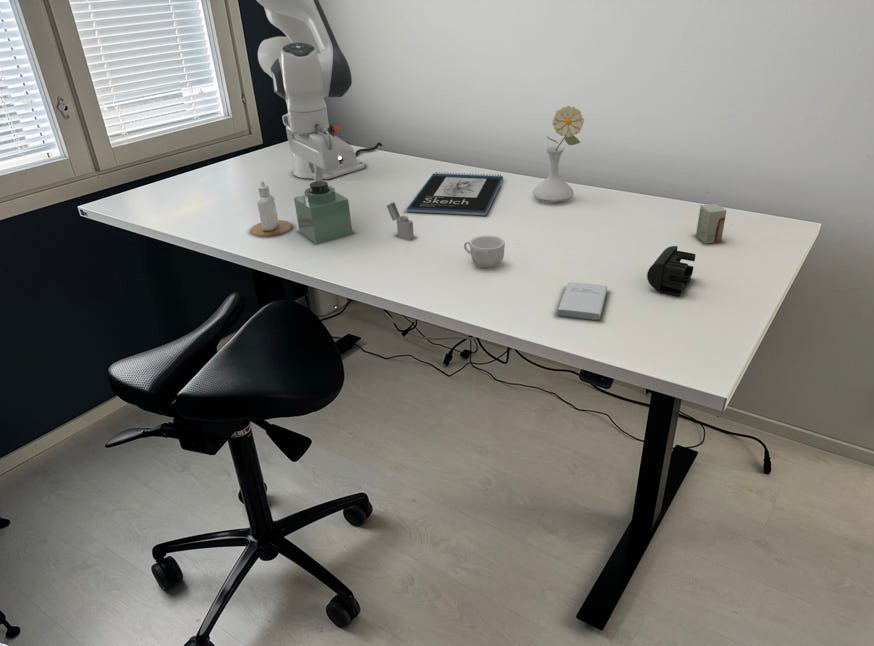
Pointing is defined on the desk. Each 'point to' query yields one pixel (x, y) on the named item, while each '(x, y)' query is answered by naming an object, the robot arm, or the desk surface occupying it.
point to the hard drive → (582, 301)
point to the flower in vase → (553, 185)
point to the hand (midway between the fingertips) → (317, 179)
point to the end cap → (671, 271)
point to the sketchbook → (457, 194)
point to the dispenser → (323, 215)
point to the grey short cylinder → (319, 187)
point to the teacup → (486, 251)
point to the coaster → (281, 229)
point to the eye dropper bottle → (267, 209)
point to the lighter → (401, 222)
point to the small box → (711, 223)
